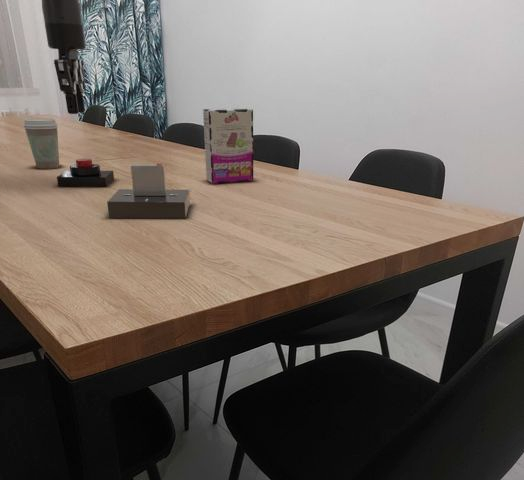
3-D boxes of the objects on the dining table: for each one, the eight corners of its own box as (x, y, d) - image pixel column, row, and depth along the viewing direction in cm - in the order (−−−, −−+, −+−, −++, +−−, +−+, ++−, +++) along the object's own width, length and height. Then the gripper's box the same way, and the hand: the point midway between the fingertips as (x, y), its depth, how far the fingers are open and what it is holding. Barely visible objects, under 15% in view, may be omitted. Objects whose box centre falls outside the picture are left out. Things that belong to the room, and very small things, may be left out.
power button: (75, 168, 117) (73, 160, 116) (79, 166, 120) (78, 158, 119) (90, 168, 117) (89, 160, 116) (94, 166, 120) (93, 158, 119)
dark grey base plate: (109, 218, 92) (106, 200, 91) (120, 204, 102) (118, 188, 100) (185, 218, 93) (184, 201, 92) (189, 204, 103) (189, 188, 101)
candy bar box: (246, 178, 129) (246, 107, 121) (253, 181, 125) (254, 108, 117) (205, 180, 125) (202, 108, 117) (211, 184, 121) (209, 109, 113)
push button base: (58, 186, 116) (54, 168, 114) (69, 179, 124) (66, 162, 122) (106, 187, 116) (104, 169, 114) (114, 179, 124) (112, 162, 122)
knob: (133, 195, 95) (130, 163, 92) (135, 194, 96) (131, 162, 94) (165, 196, 95) (163, 164, 93) (166, 194, 97) (164, 162, 94)
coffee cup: (31, 170, 133) (21, 121, 128) (31, 165, 140) (22, 118, 134) (65, 169, 136) (57, 120, 130) (64, 164, 143) (56, 118, 137)
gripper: (72, 20, 98) (85, 115, 106) (90, 25, 111) (101, 111, 119) (33, 19, 98) (49, 115, 106) (55, 24, 110) (69, 110, 119)
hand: (76, 112), depth 112 cm, fingers open, 4 cm apart
